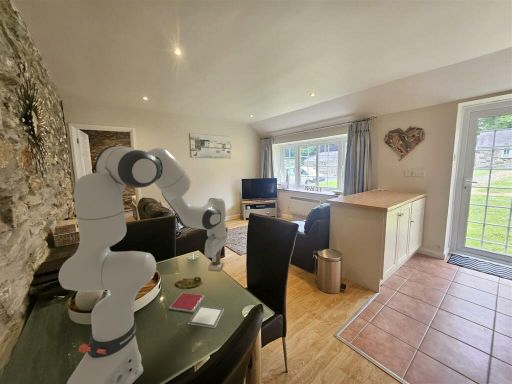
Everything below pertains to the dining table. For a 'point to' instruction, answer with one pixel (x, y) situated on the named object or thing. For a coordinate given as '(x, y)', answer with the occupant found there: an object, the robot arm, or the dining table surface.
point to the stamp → (216, 264)
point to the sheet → (206, 316)
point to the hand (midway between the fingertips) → (216, 259)
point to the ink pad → (187, 302)
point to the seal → (189, 283)
